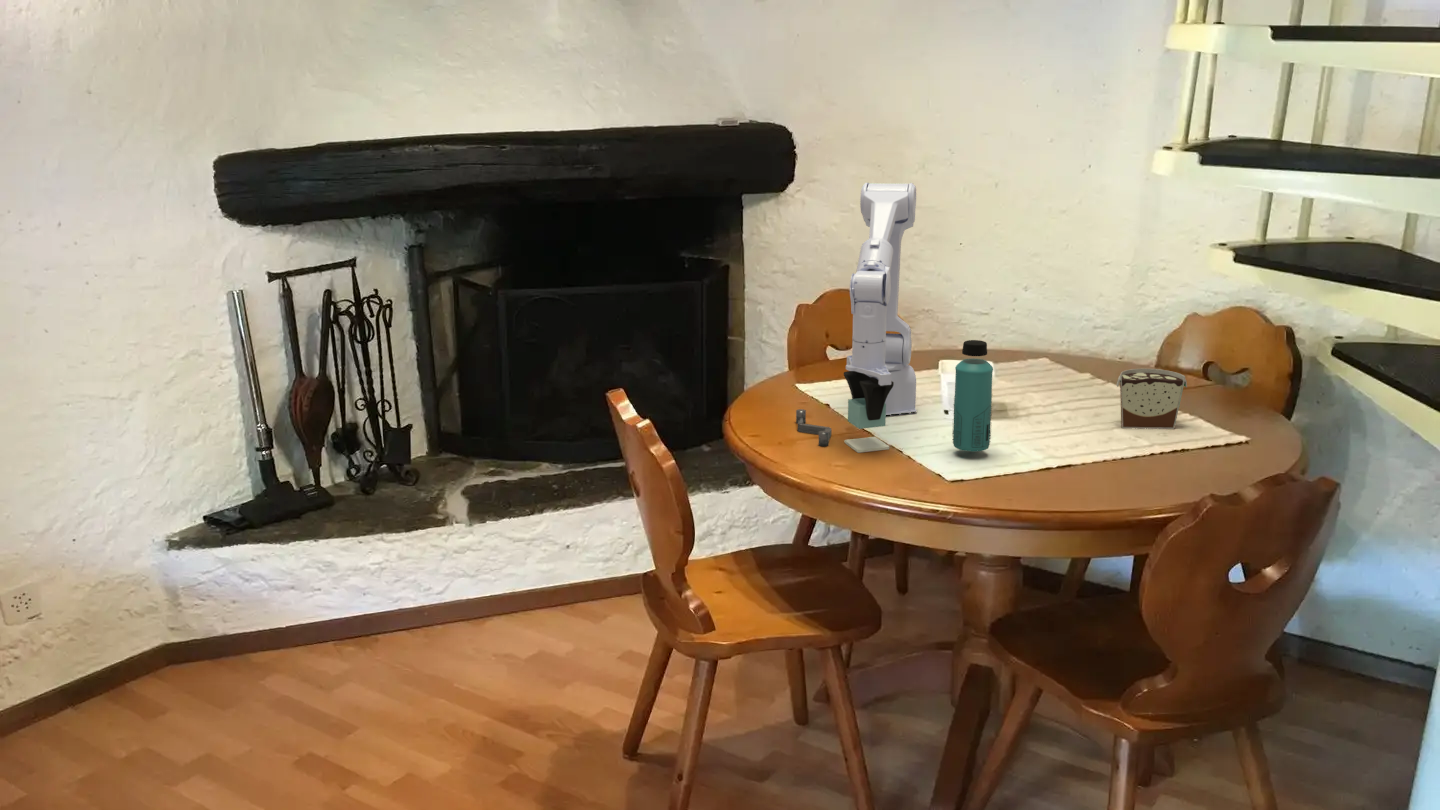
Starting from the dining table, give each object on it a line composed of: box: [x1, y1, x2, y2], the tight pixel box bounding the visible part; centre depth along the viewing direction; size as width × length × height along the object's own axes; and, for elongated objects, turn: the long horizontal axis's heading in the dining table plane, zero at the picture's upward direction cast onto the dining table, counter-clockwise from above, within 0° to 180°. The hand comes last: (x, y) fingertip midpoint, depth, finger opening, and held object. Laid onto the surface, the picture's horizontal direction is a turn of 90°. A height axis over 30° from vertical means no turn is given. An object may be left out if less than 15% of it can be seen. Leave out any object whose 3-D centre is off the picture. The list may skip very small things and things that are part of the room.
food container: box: [1115, 368, 1188, 430], centre depth 206 cm, size 12×6×10 cm, turn 84°
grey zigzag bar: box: [795, 408, 832, 448], centre depth 205 cm, size 5×16×2 cm, turn 17°
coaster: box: [843, 436, 890, 454], centre depth 197 cm, size 6×6×1 cm
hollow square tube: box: [847, 398, 887, 430], centre depth 196 cm, size 5×5×4 cm
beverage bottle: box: [951, 339, 994, 452], centre depth 190 cm, size 6×7×20 cm
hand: (867, 415), depth 196 cm, fingers closed on hollow square tube, 5 cm apart
